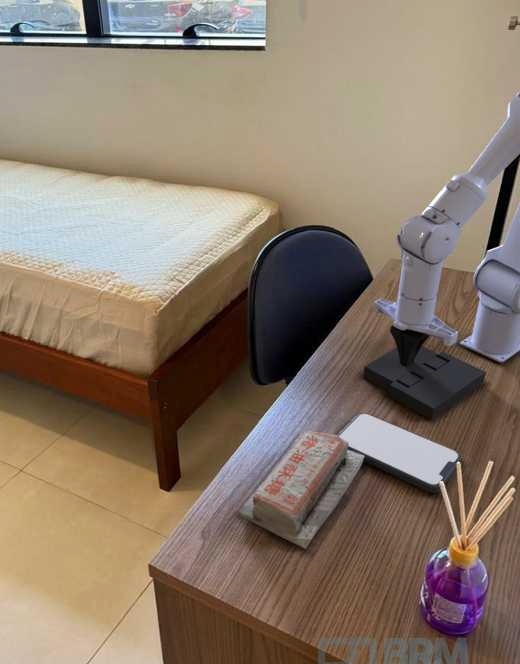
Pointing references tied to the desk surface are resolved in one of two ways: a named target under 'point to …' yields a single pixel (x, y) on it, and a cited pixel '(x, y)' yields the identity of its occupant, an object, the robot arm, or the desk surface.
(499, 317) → the robot arm
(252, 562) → the desk surface
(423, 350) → the loose pad
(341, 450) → the packaged product
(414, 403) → the pad
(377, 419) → the smartphone
